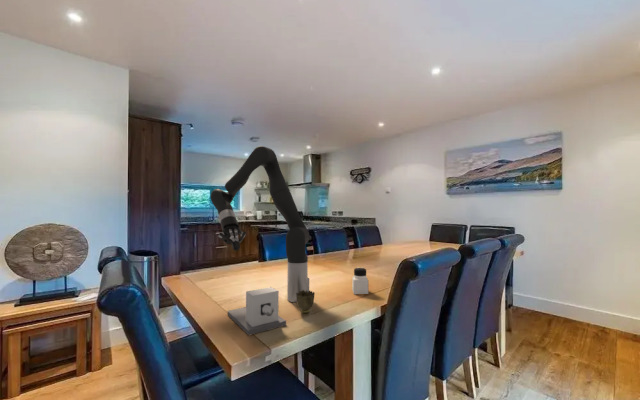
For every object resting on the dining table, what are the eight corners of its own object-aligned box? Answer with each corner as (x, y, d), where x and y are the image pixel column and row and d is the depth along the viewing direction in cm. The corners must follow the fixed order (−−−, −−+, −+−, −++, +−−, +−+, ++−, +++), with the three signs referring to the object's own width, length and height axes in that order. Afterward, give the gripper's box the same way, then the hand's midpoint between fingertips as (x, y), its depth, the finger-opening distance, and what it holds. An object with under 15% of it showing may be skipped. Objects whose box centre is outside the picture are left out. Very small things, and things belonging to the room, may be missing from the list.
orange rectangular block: (263, 312, 106) (263, 289, 106) (277, 322, 96) (277, 296, 97) (248, 316, 102) (248, 291, 102) (261, 327, 93) (261, 299, 93)
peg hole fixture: (260, 307, 117) (261, 278, 118) (286, 325, 100) (286, 291, 100) (227, 314, 109) (227, 283, 110) (248, 335, 91) (248, 298, 92)
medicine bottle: (368, 294, 135) (368, 269, 135) (353, 294, 135) (353, 269, 136) (366, 290, 142) (366, 266, 143) (352, 290, 142) (352, 266, 143)
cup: (307, 317, 106) (307, 296, 107) (292, 313, 110) (292, 293, 110) (318, 311, 113) (318, 291, 113) (303, 308, 116) (303, 288, 117)
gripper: (215, 215, 126) (223, 245, 116) (244, 215, 134) (253, 243, 124) (212, 226, 131) (219, 256, 120) (240, 225, 138) (249, 253, 128)
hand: (237, 249), depth 122 cm, fingers closed
